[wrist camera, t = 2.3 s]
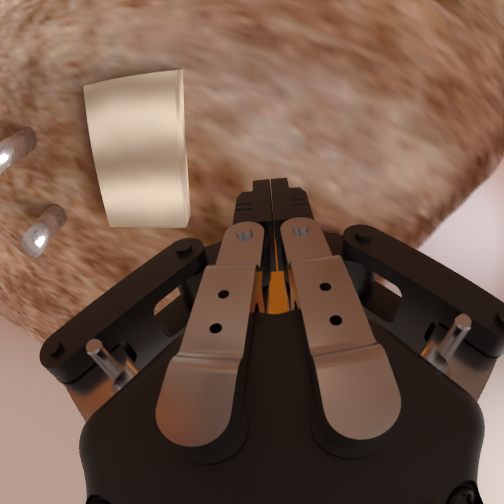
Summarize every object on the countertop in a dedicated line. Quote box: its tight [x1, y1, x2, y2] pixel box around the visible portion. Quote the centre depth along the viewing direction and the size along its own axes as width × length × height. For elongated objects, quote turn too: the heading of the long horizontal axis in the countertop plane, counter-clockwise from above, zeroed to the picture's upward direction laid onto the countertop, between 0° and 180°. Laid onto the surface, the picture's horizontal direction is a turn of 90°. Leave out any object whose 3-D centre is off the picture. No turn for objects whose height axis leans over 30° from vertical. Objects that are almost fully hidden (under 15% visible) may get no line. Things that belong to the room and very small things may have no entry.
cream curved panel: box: [83, 69, 191, 228], centre depth 22 cm, size 14×8×3 cm, turn 178°
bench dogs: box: [0, 127, 67, 257], centre depth 22 cm, size 13×3×6 cm, turn 7°
